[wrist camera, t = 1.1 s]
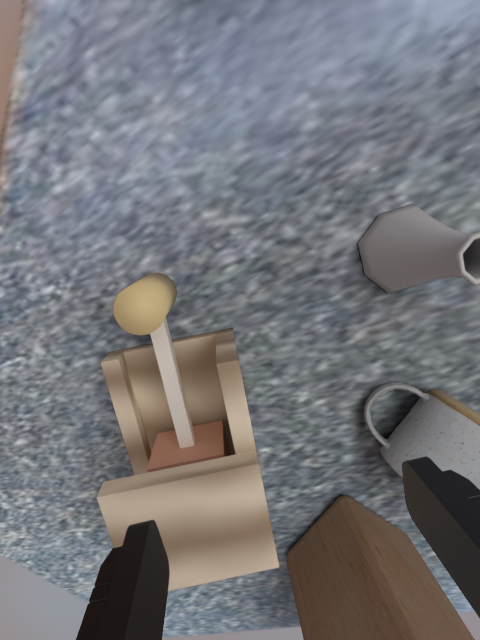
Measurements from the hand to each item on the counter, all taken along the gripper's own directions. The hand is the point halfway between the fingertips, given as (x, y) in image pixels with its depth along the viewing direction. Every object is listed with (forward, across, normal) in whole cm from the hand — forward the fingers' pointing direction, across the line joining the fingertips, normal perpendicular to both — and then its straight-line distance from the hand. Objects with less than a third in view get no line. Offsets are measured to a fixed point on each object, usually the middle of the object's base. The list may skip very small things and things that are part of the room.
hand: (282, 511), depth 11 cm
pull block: (+20, +6, +3) cm, 21 cm away
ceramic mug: (+21, -14, +13) cm, 28 cm away
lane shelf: (+21, +6, +7) cm, 23 cm away
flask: (+21, -15, -4) cm, 26 cm away
